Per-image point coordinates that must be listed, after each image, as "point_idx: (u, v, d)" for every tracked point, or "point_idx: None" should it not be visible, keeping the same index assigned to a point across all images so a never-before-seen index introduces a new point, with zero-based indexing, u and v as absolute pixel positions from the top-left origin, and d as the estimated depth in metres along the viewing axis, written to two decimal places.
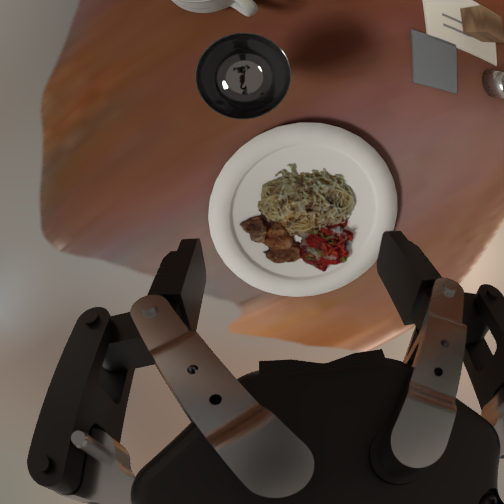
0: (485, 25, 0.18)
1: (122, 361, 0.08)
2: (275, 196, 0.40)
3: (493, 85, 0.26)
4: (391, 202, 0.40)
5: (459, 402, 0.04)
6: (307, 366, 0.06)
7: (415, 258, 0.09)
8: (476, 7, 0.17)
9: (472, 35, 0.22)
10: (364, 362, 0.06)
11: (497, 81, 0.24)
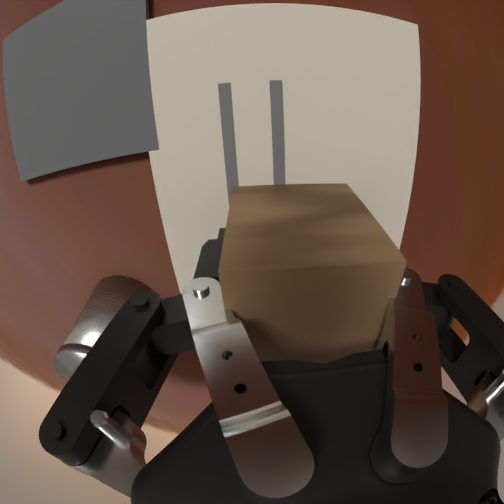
0: (269, 273, 0.07)
1: (170, 344, 0.08)
2: None
3: (86, 311, 0.13)
4: None
5: (459, 402, 0.04)
6: (307, 366, 0.06)
7: None
8: (378, 235, 0.08)
9: None
10: (364, 362, 0.06)
11: (90, 325, 0.12)
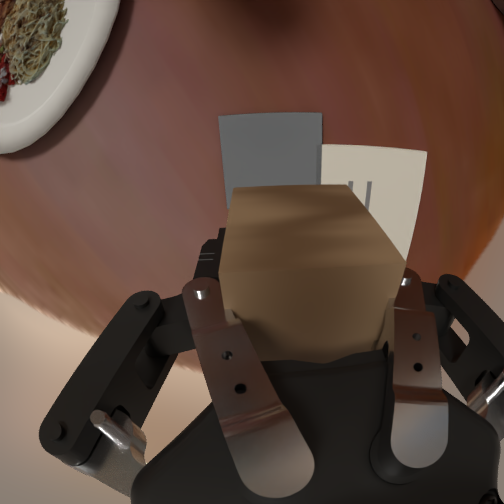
0: (269, 275, 0.07)
1: (170, 344, 0.08)
2: None
3: None
4: (36, 130, 0.21)
5: (459, 402, 0.04)
6: (307, 366, 0.06)
7: None
8: (378, 236, 0.08)
9: None
10: (364, 362, 0.06)
11: None
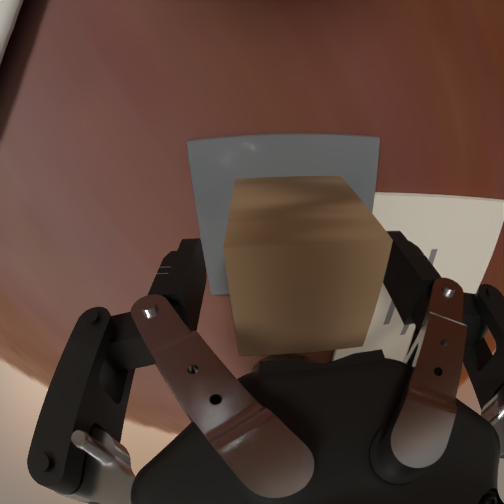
0: (268, 249, 0.08)
1: (122, 360, 0.08)
2: None
3: None
4: None
5: (459, 402, 0.04)
6: (307, 366, 0.06)
7: (415, 258, 0.09)
8: (367, 219, 0.09)
9: None
10: (364, 362, 0.06)
11: None
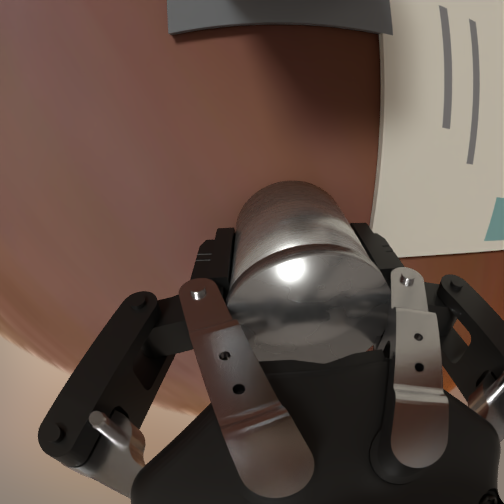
0: None
1: (167, 345, 0.08)
2: None
3: (278, 213, 0.10)
4: None
5: (459, 402, 0.04)
6: (307, 366, 0.06)
7: (376, 248, 0.10)
8: None
9: None
10: (364, 362, 0.06)
11: (308, 223, 0.09)
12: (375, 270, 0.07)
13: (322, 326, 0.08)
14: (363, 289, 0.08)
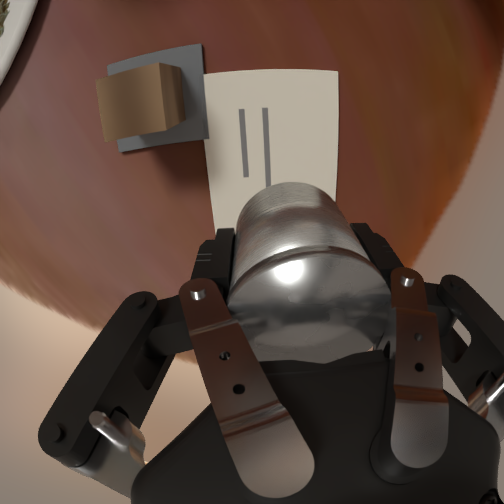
0: (110, 77, 0.15)
1: (167, 345, 0.08)
2: None
3: (278, 214, 0.10)
4: None
5: (459, 402, 0.04)
6: (307, 366, 0.06)
7: (376, 248, 0.10)
8: None
9: None
10: (364, 362, 0.06)
11: (308, 224, 0.09)
12: (375, 272, 0.07)
13: (322, 327, 0.08)
14: (363, 290, 0.08)
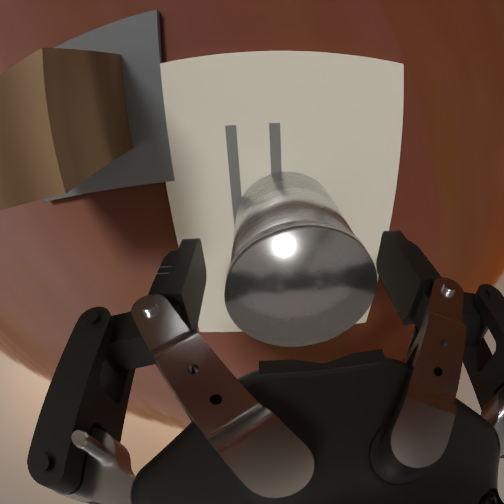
0: None
1: (123, 361, 0.08)
2: None
3: (274, 197, 0.11)
4: None
5: (459, 402, 0.04)
6: (307, 366, 0.06)
7: (414, 258, 0.09)
8: None
9: None
10: (364, 362, 0.06)
11: (300, 205, 0.10)
12: (358, 243, 0.08)
13: (313, 296, 0.10)
14: (348, 261, 0.09)
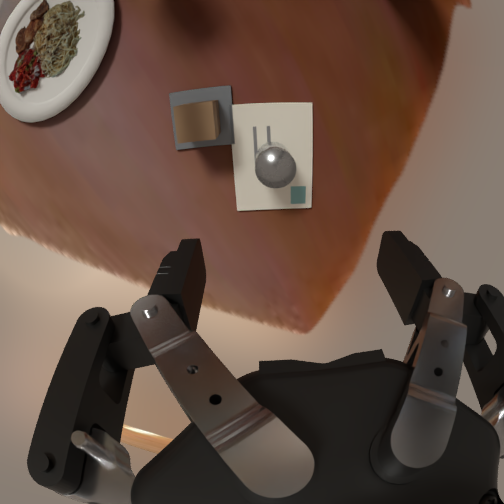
0: (182, 106, 0.31)
1: (122, 361, 0.08)
2: (59, 10, 0.23)
3: (267, 146, 0.37)
4: (59, 106, 0.33)
5: (459, 402, 0.04)
6: (307, 366, 0.06)
7: (415, 258, 0.09)
8: (211, 101, 0.32)
9: None
10: (364, 362, 0.06)
11: (274, 147, 0.36)
12: (288, 153, 0.35)
13: (278, 168, 0.36)
14: (286, 158, 0.35)
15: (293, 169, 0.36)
